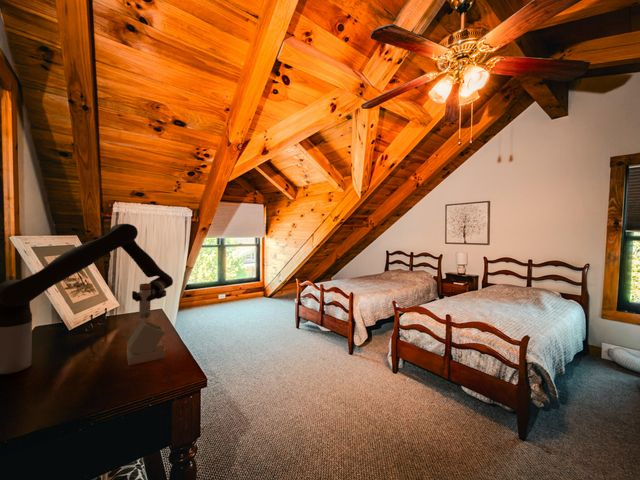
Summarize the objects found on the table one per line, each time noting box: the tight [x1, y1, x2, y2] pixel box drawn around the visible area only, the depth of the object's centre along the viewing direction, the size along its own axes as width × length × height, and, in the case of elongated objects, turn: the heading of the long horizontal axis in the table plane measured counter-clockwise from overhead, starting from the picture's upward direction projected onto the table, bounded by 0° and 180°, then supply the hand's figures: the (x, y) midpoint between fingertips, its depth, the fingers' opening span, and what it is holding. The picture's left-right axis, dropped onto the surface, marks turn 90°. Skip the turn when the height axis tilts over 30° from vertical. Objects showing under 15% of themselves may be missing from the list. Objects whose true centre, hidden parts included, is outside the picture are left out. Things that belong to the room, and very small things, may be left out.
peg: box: [138, 282, 152, 319], centre depth 118 cm, size 4×4×14 cm
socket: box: [126, 319, 167, 366], centre depth 119 cm, size 13×11×15 cm
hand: (143, 298), depth 116 cm, fingers closed on peg, 4 cm apart
